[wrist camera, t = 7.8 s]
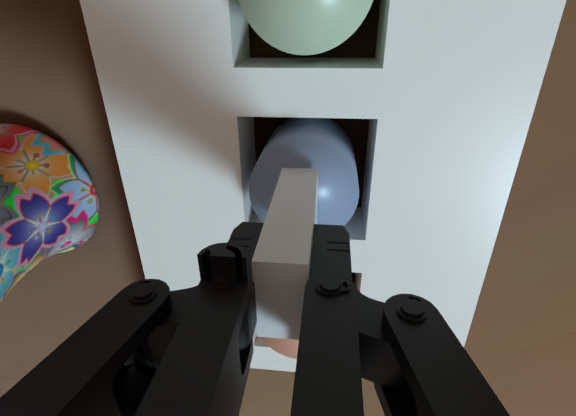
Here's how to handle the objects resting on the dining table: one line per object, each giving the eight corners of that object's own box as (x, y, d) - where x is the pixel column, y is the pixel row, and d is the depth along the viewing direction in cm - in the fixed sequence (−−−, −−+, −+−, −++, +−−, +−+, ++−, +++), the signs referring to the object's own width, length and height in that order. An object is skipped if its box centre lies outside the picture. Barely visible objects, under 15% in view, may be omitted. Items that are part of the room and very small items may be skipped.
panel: (183, 320, 28) (164, 360, 24) (94, -153, 15) (33, -194, 12) (438, 340, 26) (452, 386, 23) (568, -182, 13) (636, -238, 10)
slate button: (266, 197, 21) (251, 237, 18) (262, 113, 19) (245, 138, 15) (351, 201, 21) (354, 243, 17) (358, 115, 19) (363, 141, 15)
